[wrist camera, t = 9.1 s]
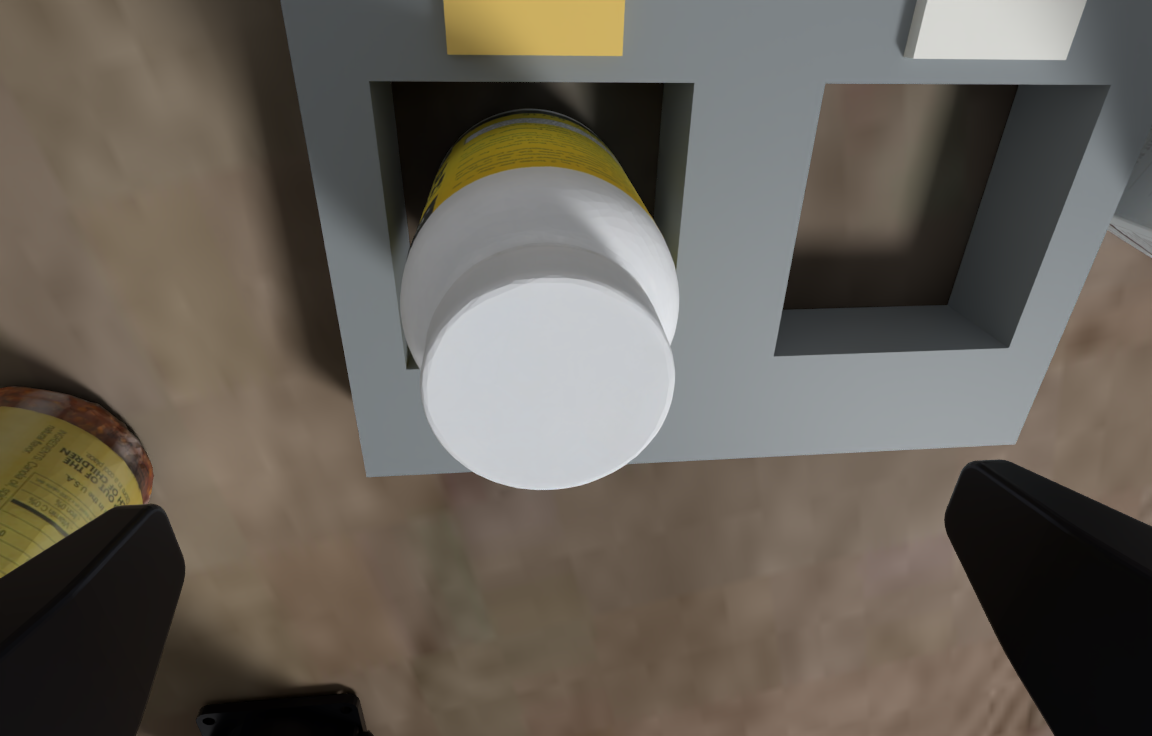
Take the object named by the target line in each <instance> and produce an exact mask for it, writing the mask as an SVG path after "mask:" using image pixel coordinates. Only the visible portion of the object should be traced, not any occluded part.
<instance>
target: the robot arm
mask: <svg viewBox="0 0 1152 736" xmlns="http://www.w3.org/2000/svg"><path fill="white" fill-rule="evenodd" d="M944 521H945V528H946V532H947V535H948V537H949V539H950V541H951V543H952V545H953V547H954V550H955V552H956V554H957V556H958V558H959V560H960V562H961V564H962V566H963V568H964V570H965V572H966V574H967V577H968V579H969V581H970V583H971V585H972V587H973V589H974V591H975V593H976V595H977V597H978V599H979V601H980V603H981V606H982V608H983V610H984V612H985V614H986V616H987V618H988V620H989V622H990V624H991V626H992V628H993V630H994V632H995V634H996V636H997V638H998V640H999V642H1000V644H1001V646H1002V648H1003V650H1004V652H1005V654H1006V655H1007V657H1008V659H1009V661H1010V662H1011V664H1012V666H1013V668H1014V669H1015V671H1016V673H1017V675H1018V676H1019V678H1020V680H1021V681H1022V683H1023V685H1024V686H1025V688H1026V690H1027V691H1028V693H1029V695H1030V696H1031V698H1032V699H1033V701H1034V703H1035V704H1036V706H1037V708H1038V709H1039V711H1040V713H1041V714H1042V716H1043V718H1044V719H1045V721H1046V723H1047V724H1048V726H1049V728H1050V729H1051V731H1052V733H1053V734H1054V736H1152V526H1150V525H1147V524H1145V523H1143V522H1141V521H1139V520H1136V519H1134V518H1132V517H1130V516H1128V515H1126V514H1123V513H1121V512H1119V511H1117V510H1115V509H1112V508H1110V507H1108V506H1106V505H1104V504H1102V503H1099V502H1097V501H1095V500H1093V499H1091V498H1088V497H1086V496H1084V495H1082V494H1080V493H1077V492H1075V491H1073V490H1071V489H1069V488H1067V487H1064V486H1062V485H1060V484H1058V483H1056V482H1053V481H1051V480H1049V479H1047V478H1045V477H1043V476H1040V475H1038V474H1036V473H1034V472H1032V471H1029V470H1027V469H1025V468H1023V467H1021V466H1018V465H1016V464H1014V463H1012V462H1009V461H1006V460H982V461H973V462H970V463H968V464H967V465H966V466H965V467H964V468H963V469H962V471H961V473H960V476H959V478H958V481H957V484H956V486H955V489H954V491H953V494H952V496H951V499H950V501H949V504H948V506H947V509H946V512H945V519H944ZM184 577H185V562H184V558H183V555H182V552H181V550H180V547H179V545H178V542H177V540H176V537H175V534H174V532H173V529H172V527H171V524H170V522H169V519H168V517H167V515H166V513H165V511H164V510H163V509H162V508H161V507H160V506H158V505H155V504H138V505H122V506H116V507H113V508H111V509H109V510H108V511H106V512H105V513H103V514H101V515H100V516H98V517H97V518H95V519H93V520H92V521H90V522H89V523H87V524H86V525H84V526H82V527H81V528H79V529H78V530H76V531H74V532H73V533H71V534H70V535H68V536H67V537H65V538H63V539H62V540H60V541H59V542H57V543H55V544H54V545H52V546H51V547H49V548H47V549H46V550H44V551H43V552H41V553H40V554H38V555H36V556H35V557H33V558H32V559H30V560H28V561H27V562H25V563H24V564H22V565H20V566H19V567H17V568H16V569H14V570H13V571H11V572H9V573H8V574H6V575H5V576H3V577H1V578H0V736H136V733H137V730H138V728H139V725H140V723H141V720H142V717H143V714H144V711H145V708H146V705H147V702H148V699H149V696H150V692H151V689H152V686H153V682H154V679H155V676H156V672H157V669H158V666H159V662H160V659H161V656H162V652H163V649H164V646H165V643H166V639H167V636H168V633H169V629H170V626H171V623H172V619H173V616H174V613H175V609H176V606H177V603H178V599H179V596H180V593H181V590H182V586H183V582H184ZM196 723H197V725H198V727H199V729H200V732H201V734H202V736H374V735H373V734H372V733H371V732H370V731H367V729H366V725H365V721H364V717H363V712H362V708H361V704H360V700H359V698H358V697H356V696H355V695H352V694H339V695H327V696H314V697H302V698H289V699H277V700H265V701H252V702H240V703H228V704H215V705H207V706H204V707H202V708H201V709H200V711H199V714H198V716H197V719H196Z"/></svg>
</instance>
